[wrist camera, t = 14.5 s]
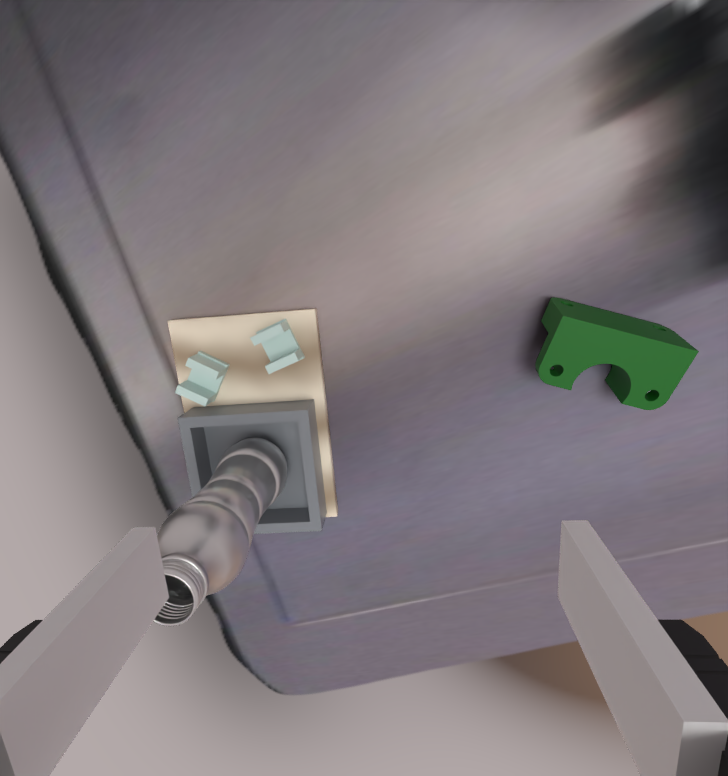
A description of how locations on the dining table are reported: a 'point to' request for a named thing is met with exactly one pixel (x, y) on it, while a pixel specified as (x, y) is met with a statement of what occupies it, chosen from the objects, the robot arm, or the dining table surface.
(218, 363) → the clip
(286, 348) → the clip
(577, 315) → the clamp
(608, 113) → the dining table surface
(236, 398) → the board
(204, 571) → the plastic bottle
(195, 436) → the holder
